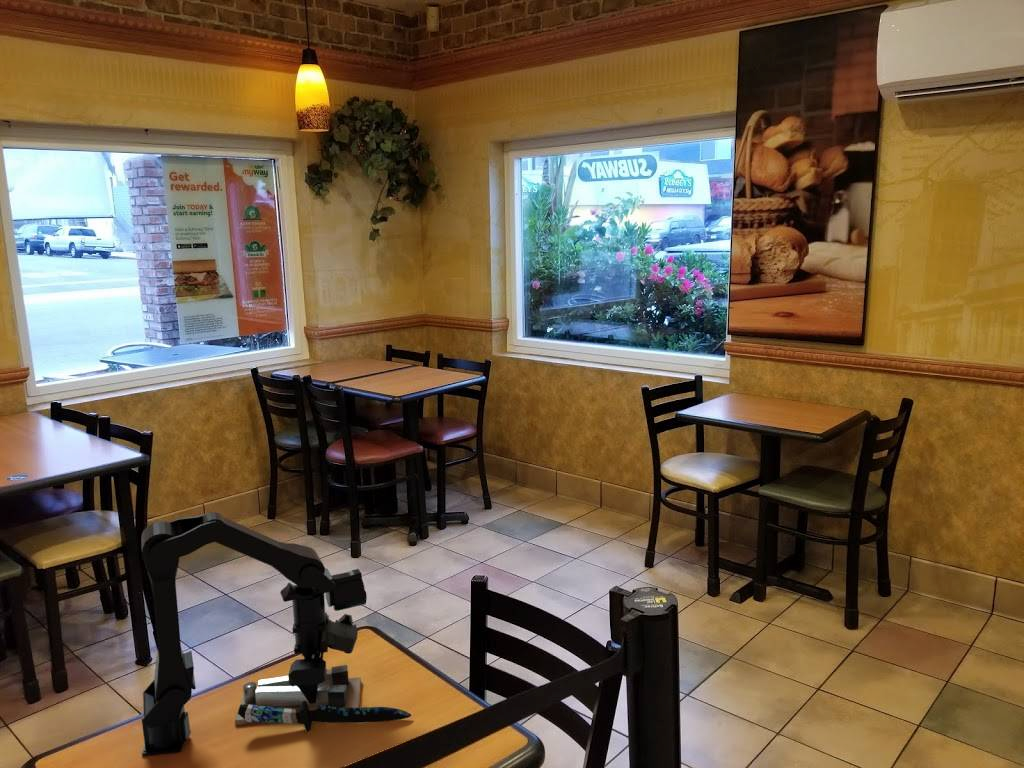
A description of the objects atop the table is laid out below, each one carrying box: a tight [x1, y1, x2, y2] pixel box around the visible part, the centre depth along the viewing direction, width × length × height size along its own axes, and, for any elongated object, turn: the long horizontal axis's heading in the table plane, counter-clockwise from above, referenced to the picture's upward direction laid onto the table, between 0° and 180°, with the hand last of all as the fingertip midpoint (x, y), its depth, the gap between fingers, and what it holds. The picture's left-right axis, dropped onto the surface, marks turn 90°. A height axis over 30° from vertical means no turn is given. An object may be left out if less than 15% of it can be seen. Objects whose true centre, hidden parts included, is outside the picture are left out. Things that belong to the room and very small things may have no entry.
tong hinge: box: [242, 681, 258, 705], centre depth 144 cm, size 2×2×3 cm
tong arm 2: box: [257, 664, 349, 687], centre depth 148 cm, size 16×2×3 cm, turn 105°
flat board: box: [234, 676, 362, 726], centre depth 146 cm, size 22×10×1 cm, turn 98°
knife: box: [237, 701, 412, 733], centre depth 139 cm, size 31×3×4 cm, turn 93°
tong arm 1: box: [255, 685, 347, 707], centre depth 143 cm, size 16×2×3 cm, turn 91°
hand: (315, 690), depth 146 cm, fingers open, 7 cm apart
